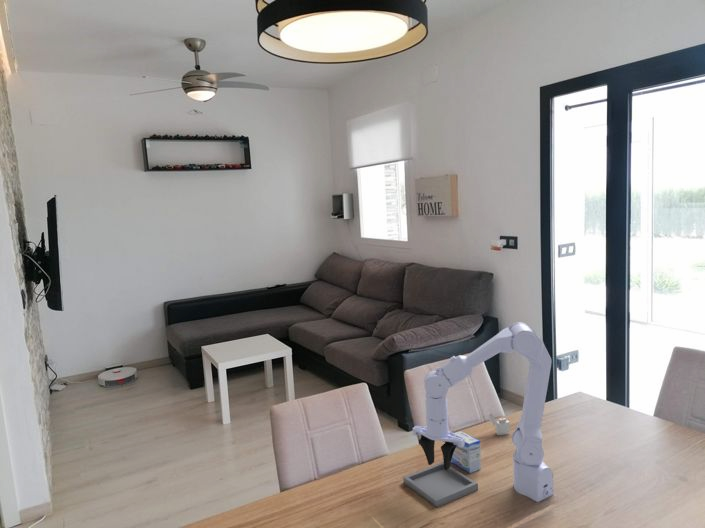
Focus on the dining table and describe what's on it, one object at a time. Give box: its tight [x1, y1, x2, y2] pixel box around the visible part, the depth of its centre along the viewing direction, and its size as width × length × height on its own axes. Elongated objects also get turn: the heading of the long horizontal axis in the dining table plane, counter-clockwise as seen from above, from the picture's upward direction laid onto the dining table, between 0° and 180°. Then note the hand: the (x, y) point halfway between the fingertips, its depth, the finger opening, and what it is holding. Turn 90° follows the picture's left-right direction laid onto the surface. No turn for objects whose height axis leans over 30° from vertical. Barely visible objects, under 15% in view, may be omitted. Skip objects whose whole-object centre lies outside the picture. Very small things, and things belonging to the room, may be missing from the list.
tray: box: [402, 461, 479, 508], centre depth 134 cm, size 14×14×2 cm
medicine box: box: [451, 430, 482, 474], centre depth 144 cm, size 8×4×9 cm, turn 30°
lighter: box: [486, 411, 511, 436], centre depth 162 cm, size 7×2×8 cm, turn 99°
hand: (439, 465), depth 134 cm, fingers open, 4 cm apart
